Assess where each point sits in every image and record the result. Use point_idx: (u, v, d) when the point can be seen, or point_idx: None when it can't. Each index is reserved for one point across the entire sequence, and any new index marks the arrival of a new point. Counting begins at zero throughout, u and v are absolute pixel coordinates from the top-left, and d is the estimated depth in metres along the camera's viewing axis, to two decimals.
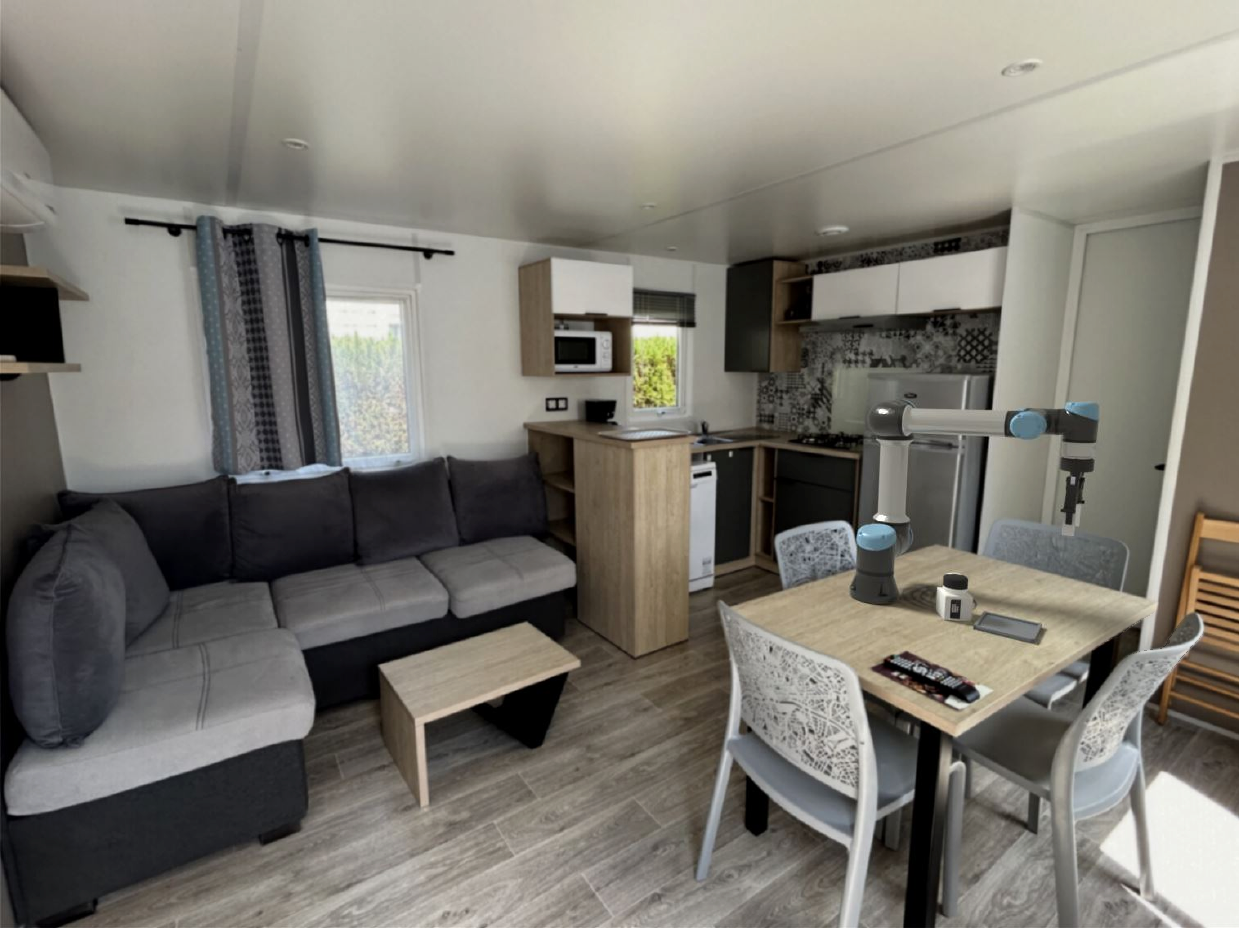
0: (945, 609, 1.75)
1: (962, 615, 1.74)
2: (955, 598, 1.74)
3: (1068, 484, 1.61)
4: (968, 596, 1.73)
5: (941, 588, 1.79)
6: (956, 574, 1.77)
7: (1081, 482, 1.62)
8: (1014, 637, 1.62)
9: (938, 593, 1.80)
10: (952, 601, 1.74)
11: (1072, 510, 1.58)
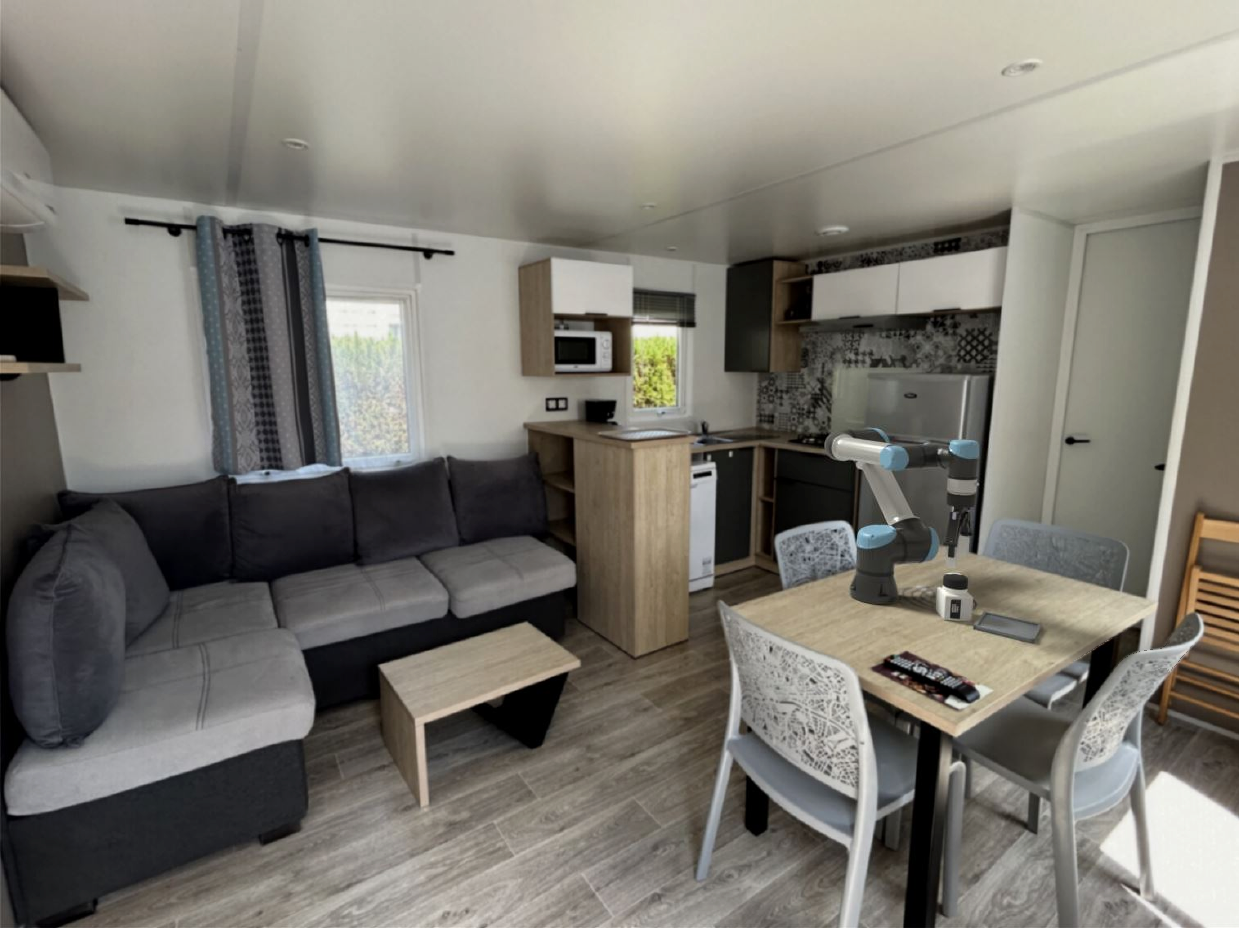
0: (945, 609, 1.75)
1: (962, 615, 1.74)
2: (955, 598, 1.74)
3: (950, 519, 1.69)
4: (968, 596, 1.73)
5: (941, 588, 1.79)
6: (956, 574, 1.77)
7: (964, 517, 1.71)
8: (1014, 637, 1.62)
9: (938, 593, 1.80)
10: (952, 601, 1.74)
11: (952, 544, 1.66)
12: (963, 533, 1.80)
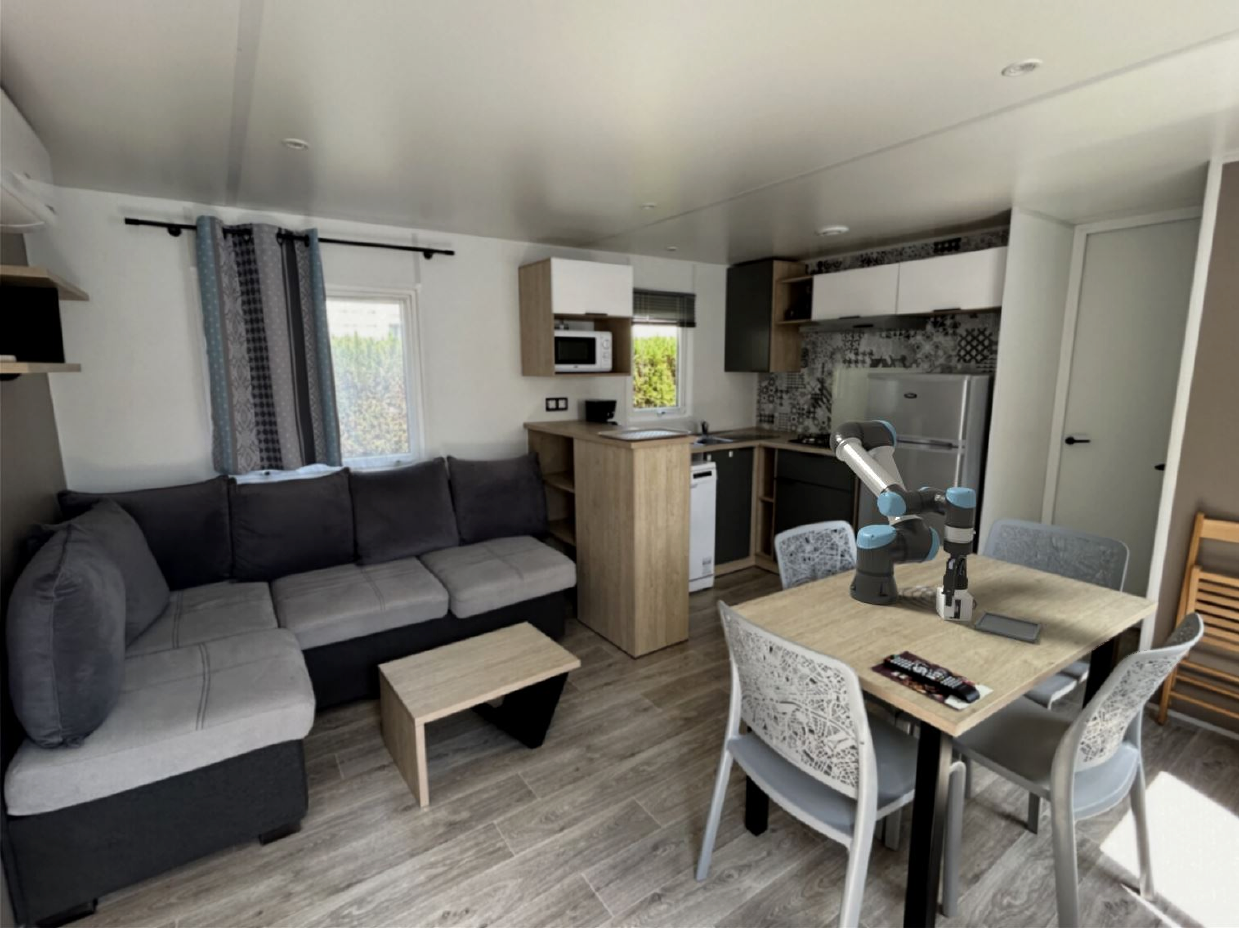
0: None
1: (962, 614, 1.74)
2: (955, 598, 1.74)
3: (947, 568, 1.71)
4: (968, 596, 1.73)
5: (941, 588, 1.79)
6: None
7: (960, 564, 1.73)
8: (1014, 637, 1.62)
9: (938, 593, 1.80)
10: None
11: (950, 594, 1.70)
12: None
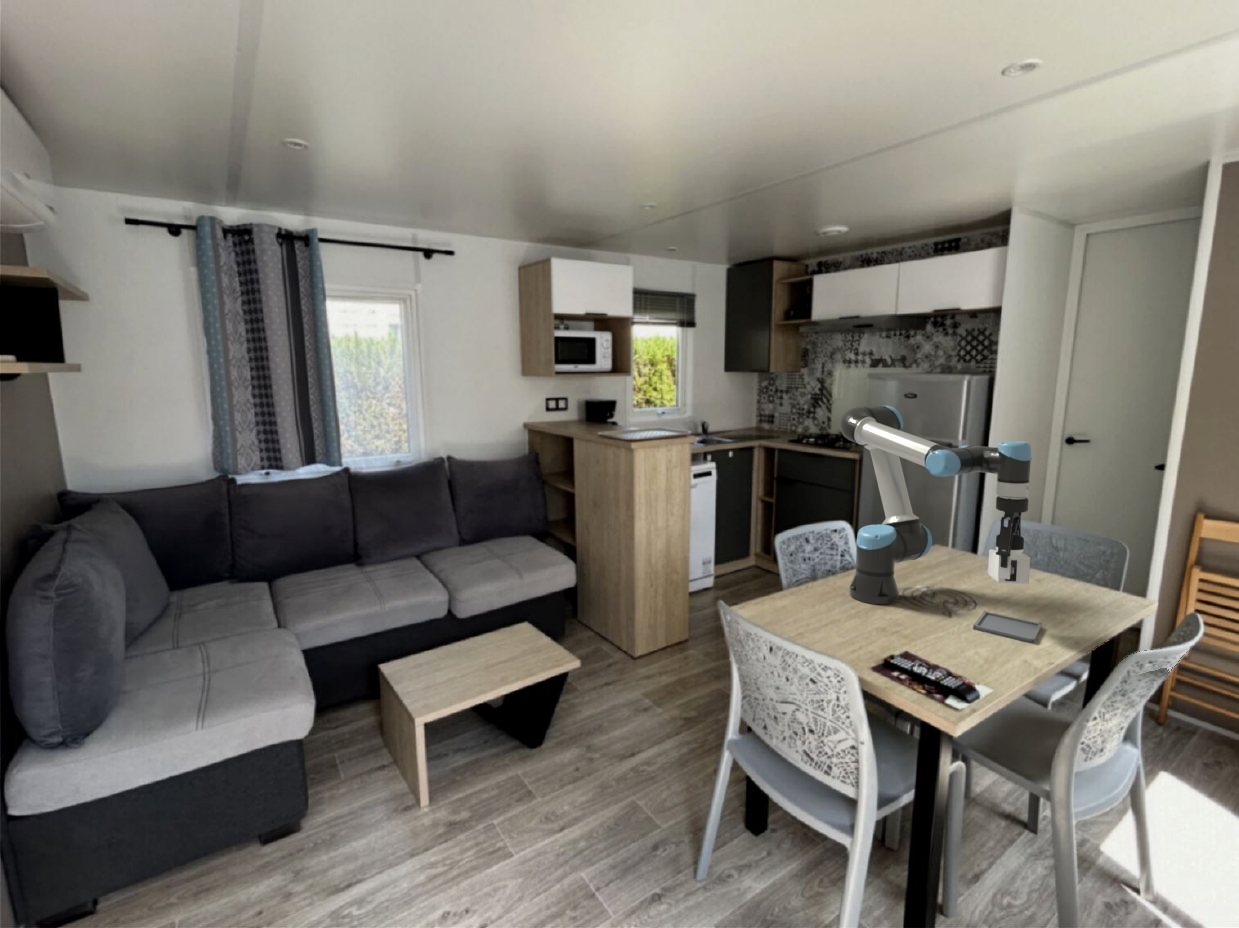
0: None
1: (1018, 576, 1.62)
2: None
3: (1001, 527, 1.60)
4: (1025, 556, 1.62)
5: (993, 550, 1.68)
6: None
7: (1015, 523, 1.62)
8: (1014, 637, 1.62)
9: (991, 555, 1.69)
10: None
11: (1006, 554, 1.59)
12: None
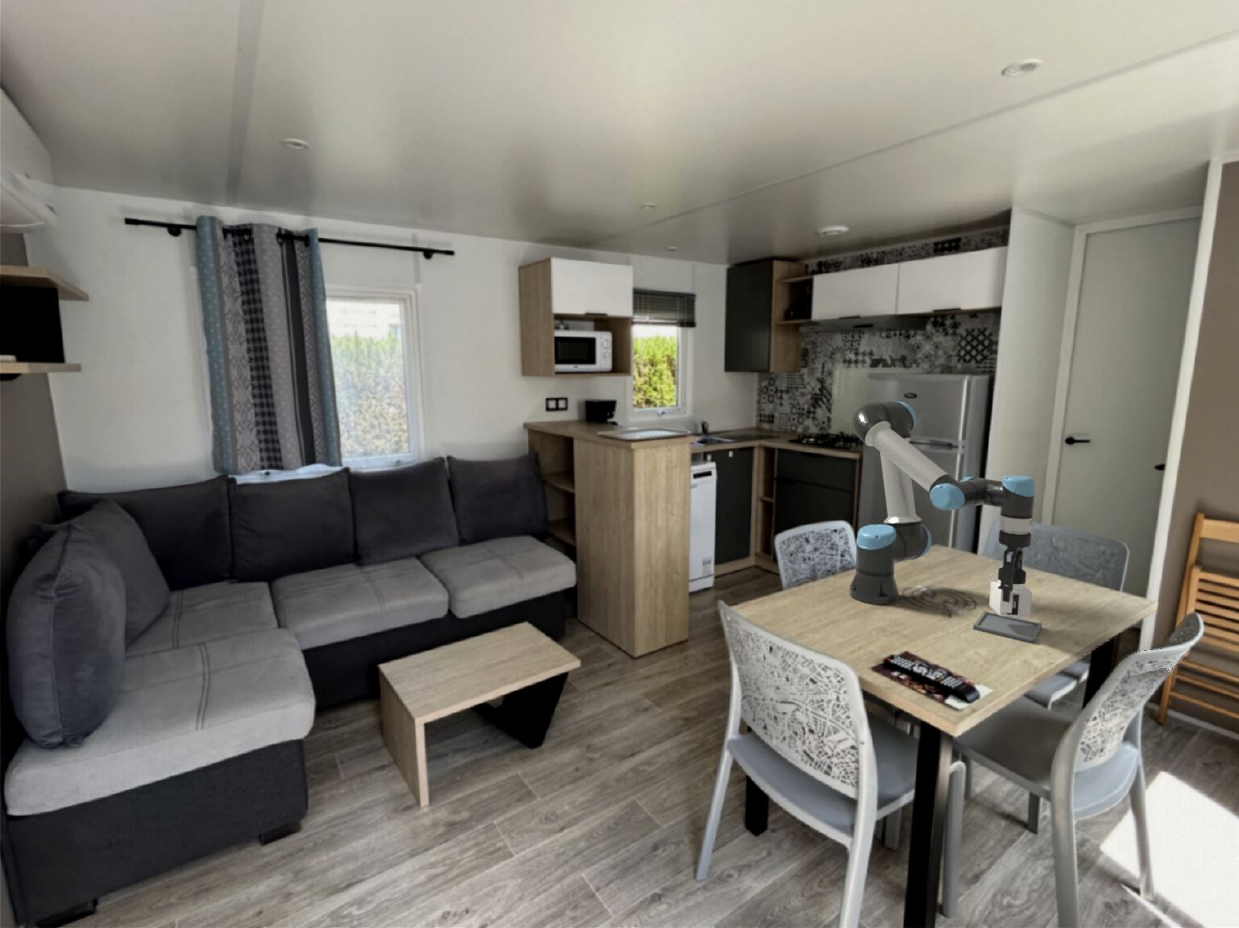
0: None
1: (1020, 610, 1.64)
2: None
3: (1004, 561, 1.61)
4: (1026, 591, 1.63)
5: (995, 583, 1.69)
6: None
7: (1018, 557, 1.63)
8: (1014, 637, 1.62)
9: (992, 588, 1.70)
10: None
11: (1008, 589, 1.60)
12: None
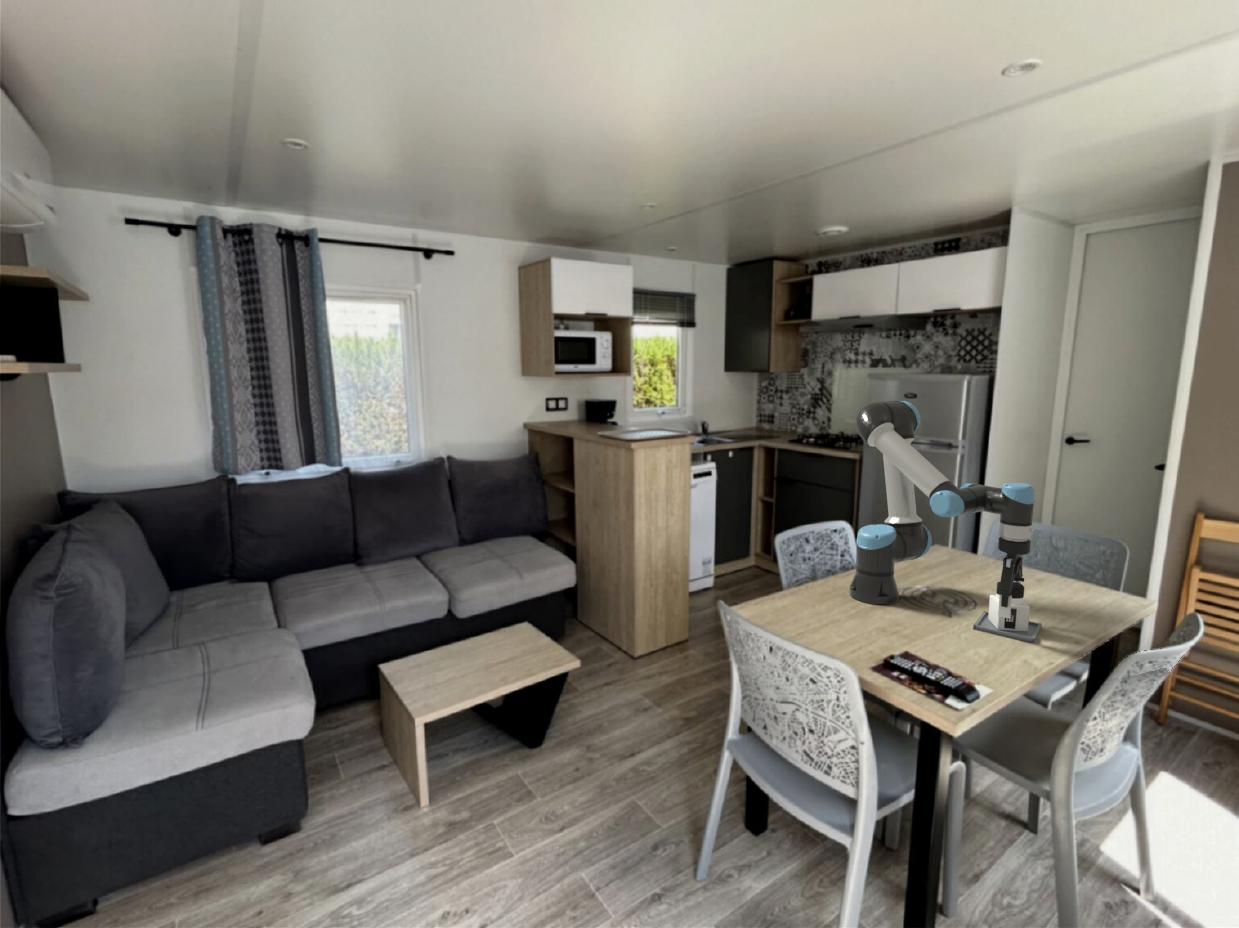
0: (999, 618, 1.66)
1: (1017, 624, 1.65)
2: None
3: (1004, 567, 1.61)
4: (1024, 605, 1.64)
5: (994, 596, 1.71)
6: None
7: (1017, 564, 1.63)
8: (1014, 637, 1.62)
9: (991, 601, 1.71)
10: None
11: (1007, 594, 1.59)
12: (1014, 578, 1.72)
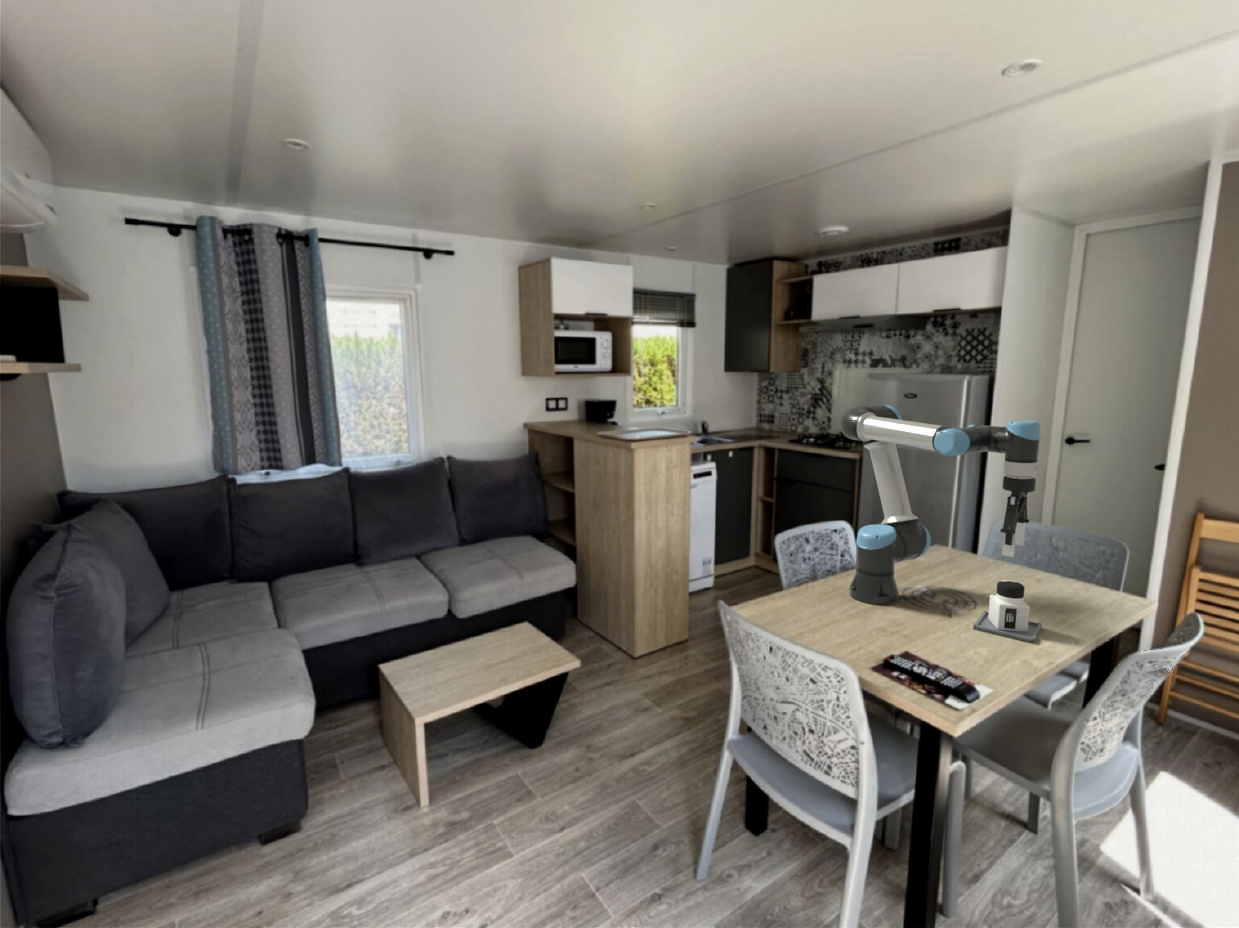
0: (999, 618, 1.66)
1: (1017, 624, 1.65)
2: (1010, 607, 1.65)
3: (1008, 504, 1.59)
4: (1024, 605, 1.64)
5: (994, 596, 1.71)
6: (1011, 582, 1.68)
7: (1022, 502, 1.61)
8: (1014, 637, 1.62)
9: (991, 601, 1.71)
10: (1007, 610, 1.65)
11: (1011, 531, 1.57)
12: (1018, 520, 1.70)
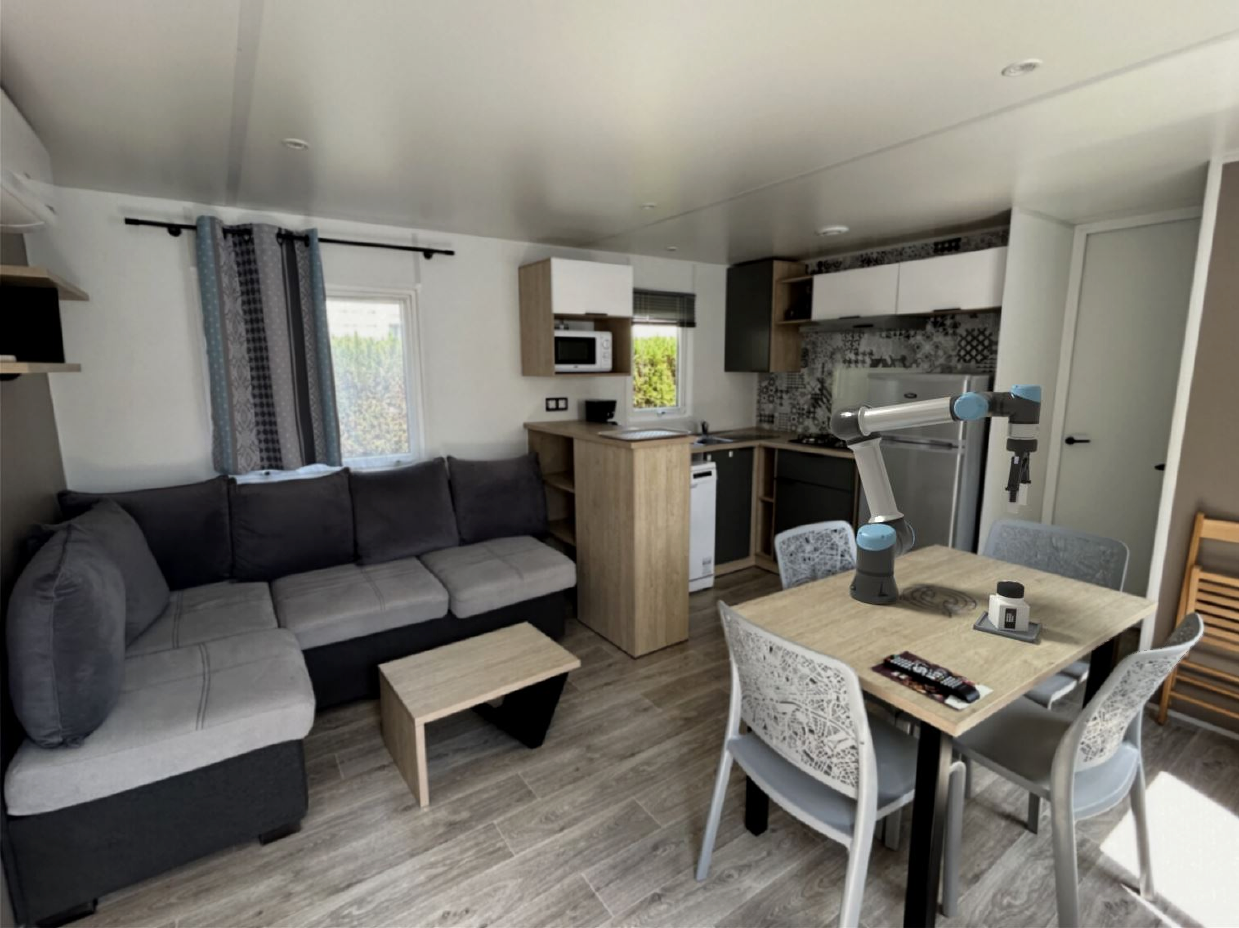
0: (999, 618, 1.66)
1: (1017, 624, 1.65)
2: (1010, 607, 1.65)
3: (1012, 463, 1.68)
4: (1024, 605, 1.64)
5: (994, 596, 1.71)
6: (1011, 582, 1.68)
7: (1025, 462, 1.70)
8: (1014, 637, 1.62)
9: (991, 601, 1.71)
10: (1007, 610, 1.65)
11: (1015, 488, 1.66)
12: (1021, 481, 1.79)
